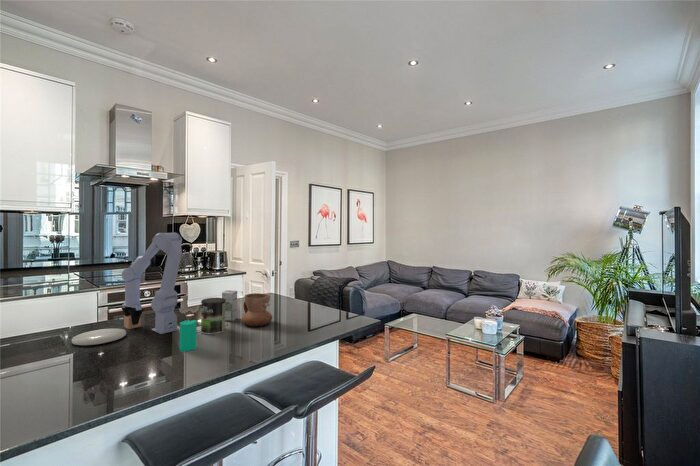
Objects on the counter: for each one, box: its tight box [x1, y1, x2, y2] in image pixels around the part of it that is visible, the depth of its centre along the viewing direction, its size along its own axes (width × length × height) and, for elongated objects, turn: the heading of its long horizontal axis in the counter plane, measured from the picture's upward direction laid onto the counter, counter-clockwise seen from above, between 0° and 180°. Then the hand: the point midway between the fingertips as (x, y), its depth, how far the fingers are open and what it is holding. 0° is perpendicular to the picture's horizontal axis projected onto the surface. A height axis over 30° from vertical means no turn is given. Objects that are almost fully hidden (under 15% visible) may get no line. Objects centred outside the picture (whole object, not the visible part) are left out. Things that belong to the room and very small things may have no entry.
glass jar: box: [200, 297, 226, 335], centre depth 150 cm, size 10×10×14 cm
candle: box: [179, 317, 198, 352], centre depth 129 cm, size 6×6×12 cm
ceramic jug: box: [241, 292, 273, 327], centre depth 162 cm, size 18×14×14 cm
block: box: [123, 315, 142, 330], centre depth 154 cm, size 5×5×5 cm
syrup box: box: [221, 289, 238, 322], centre depth 168 cm, size 6×6×14 cm
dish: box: [71, 328, 127, 346], centre depth 138 cm, size 18×18×2 cm
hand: (132, 323), depth 154 cm, fingers open, 6 cm apart
